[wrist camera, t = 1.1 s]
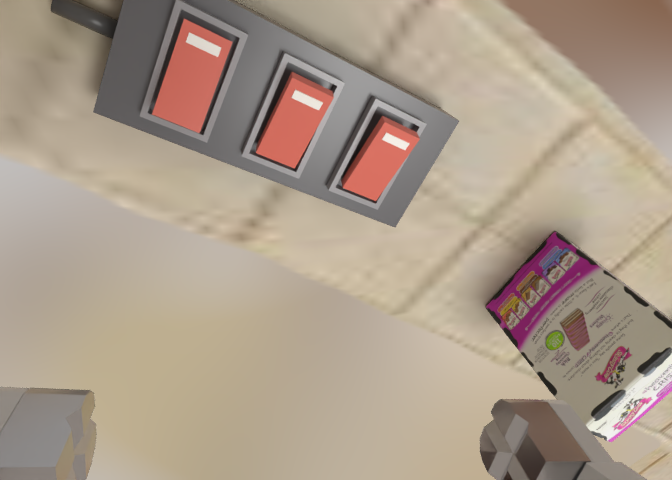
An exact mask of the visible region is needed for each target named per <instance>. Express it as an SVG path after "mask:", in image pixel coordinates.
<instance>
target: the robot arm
mask: <svg viewBox="0 0 672 480" xmlns="http://www.w3.org/2000/svg"><path fill="white" fill-rule="evenodd" d="M94 407H95V400H94V392H92V391H90V390H69V389H48V388H13V387H12V388H11V387H0V480H85V479H86V478H87V476H88V473H89V470H90V467H91V464H92V458H93V454H94V450H95V443H96V424H95V423H94V422H93V421H92V420H91V419H90V418H91V415H92V413H93V410H94ZM491 414H492V416H493V419H494V420H493V421H491V422H490V423H489V424H487V425H486V426H485V427H484V429H483V432H482V434H481V437H480V453H481V457H482V461H483V463H484V465H485V468H486V470H487V472H488V473H489V474H490V475H492V476H493V477H494V478H495V479H496V480H647V479H645V478H644V477H642V476H641V475H639V474H638V473H636V472H635V471H633V470H632V469H630V468H629V467H627V466H626V465H624V464H623V463H621V462H614V461H613V460H612V458H611V457H610V455H609V454H608V453H607V452H606V451H605V449H604V448H603V447H602V445H601V444H600V443H599V442H598V440H597V439H596V438H595V437H594V435H593V434H592V433H591V431H590V430H589V429H588V428H587V426H586V425H585V424H584V422H583V421H582V420H581V419H580V417H579V416H578V415H577V414H576V412H575V411H574V410H573V408H572V407H571V406H570V405H569V404H568V403H566V402H565V401H563V400H524V399H500V400H499V401H497V402H496V403H495V404H494V407H493V409H492V411H491Z"/></svg>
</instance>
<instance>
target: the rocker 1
mask: <svg viewBox="0 0 672 480" xmlns="http://www.w3.org/2000/svg"><path fill="white" fill-rule="evenodd" d="M231 45H232V42H231V41H229V40H227V39H225V38H223V37H221V36H219V35H217V34H215V33H213V32H211V31H209V30H207V29H205V28H203V27H201V26H199V25H197V24H194V23H192V22H190V21H188V20H186V19H184V21H183V23H182V26H181V29H180V32H179V35H178V38H177V41H176V44H175V47H174V50H173V53H172V56H171V59H170V62H169V65H168V68H167V71H166V74H165V77H164V80H163V83H162V86H161V89H160V92H159V95H158V98H157V101H156V104H155V107H154V110H153V113H152V115H155V116H157V117H160V118H162V119H165V120H167V121H170V122H172V123H175V124H177V125H180V126H182V127H185V128H187V129H190V130H192V131H195V132H197V133H200V131H201V128H202V125H203V123H204V120H205V117H206V114H207V112H208V109H209V106H210V103H211V100H212V98H213V95H214V92H215V89H216V87H217V84H218V81H219V78H220V76H221V73H222V70H223V67H224V64H225V62H226V59H227V56H228V53H229V51H230V48H231Z"/></svg>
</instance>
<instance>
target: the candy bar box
mask: <svg viewBox="0 0 672 480" xmlns="http://www.w3.org/2000/svg"><path fill="white" fill-rule="evenodd" d="M486 309H487V310H488V311H489V313H490V314H491V316H492V317H493V318H494V319H495V321H496V322H497V323H498V324H499V326H500V327H501V328H502V330H503V331H504V332H505V333H506V335H507V336H508V337H509V339H510V340H511V341H512V343H513V344H514V345H515V346H516V347H517V349H518V350H519V352H520V353H521V354H522V355H523V356H524V358H525V359H526V360H527V362H528V363H529V364H530V365H531V367H532V368H533V370H534V371H535V372H536V373H537V375H538V376H539V377H540V379H541V380H542V381H543V382H544V384H545V385H546V386H547V388H548V389H549V391H550V392H551V393H552V394H553V395H554V396H555V398H556V399H557V400H563V401H565V402H566V403H568V404H569V405H570V406H571V407H572V408H573V410H574V411H575V412H576V414H577V415H578V416H579V417H580V419H581V420H582V421H583V422H584V424H585V425H586V426H587V428H588V429H589V430H590V431H591V433H592V434H593V435H595V436H598V437H600V438H604V439H605V440H606V441H609V442H613V441H614V440H615V439H616V438H617V437H618V436H620V434H622V433H623V432H624V431H625V430H627V429H628V428H629V427H630V426H631V425H633V424H634V423H635V422H636V421H637V420H639V419H640V418H641V417H642V416H643V415H644V414H646V413H647V412H648V411H649V410H650V409H651V408H653V407H654V406H655V405H656V404H657V403H658V402H660V401H661V400H662V399H663V398H664V397H665V396H667V395H668V394H669V393H670V392H671V391H672V320H671V319H669V318H668V317H667V316H666V315H664V314H663V313H662V312H661V311H659V310H658V309H657V308H655V307H654V306H653V305H652V304H650V303H649V302H648V301H646V300H645V299H644V298H643V297H641V296H640V295H639V294H638V293H636V292H635V291H634V290H633V289H631V288H630V287H629V286H627V285H626V284H625V283H624V282H622V281H621V280H620V279H618V278H617V277H616V276H615V275H613V274H612V273H611V272H610V271H608V270H607V269H606V268H604V267H603V266H602V265H601V264H599V263H598V262H597V261H595V260H594V259H593V258H592V257H590V256H589V255H588V254H586V253H585V252H584V251H582V250H581V249H580V248H579V247H577V246H576V245H574V244H573V243H572V242H570V241H569V240H568V239H566V238H565V237H563V236H562V235H560V234H559V233H557V232H554V233H552V234H551V235H550V237H549V238H548V239H547V240H546V241H545V242H544V243H543V244H542V245H541V246H540V247H539V249H538V250H537V251H536V252H535V253H534V254H533V255H532V256H531V257H530V258H529V260H528V261H527V262H526V263H525V264H524V265H523V266H522V267H521V268H520V270H519V271H518V272H517V273H516V274H515V275H514V276H513V277H512V278H511V280H510V281H509V282H508V283H507V284H506V285H505V286H504V287H503V289H502V290H501V291H500V292H499V293H498V294H497V295H496V296H495V297H494V299H493V300H492V301H491V302H490V303H489V304H488V305H487V306H486Z"/></svg>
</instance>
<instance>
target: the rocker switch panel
mask: <svg viewBox="0 0 672 480" xmlns="http://www.w3.org/2000/svg"><path fill="white" fill-rule="evenodd" d="M51 11H52V12H53V13H55V14H57V15H60V16H62V17H64V18H66V19H69V20H71V21H73V22H75V23H78V24H80V25H82V26H84V27H87V28H89V29H91V30H93V31H96V32H98V33H100V34H102V35H105V36H107V37H109V38H111V39H113V41H112V45H111V49H110V52H109V56H108V60H107V63H106V67H105V71H104V74H103V78H102V82H101V85H100V89H99V93H98V96H97V100H96V104H95V108H94V111H93V112H94V113H97V114H99V115H102V116H105V117H107V118H110V119H112V120H115V121H118V122H120V123H123V124H126V125H128V126H131V127H133V128H136V129H139V130H141V131H144V132H146V133H149V134H152V135H154V136H157V137H160V138H162V139H165V140H167V141H170V142H173V143H175V144H178V145H180V146H183V147H186V148H188V149H191V150H194V151H196V152H199V153H201V154H204V155H207V156H209V157H212V158H215V159H217V160H220V161H222V162H225V163H228V164H230V165H233V166H235V167H238V168H241V169H243V170H246V171H249V172H251V173H254V174H256V175H259V176H262V177H264V178H267V179H269V180H272V181H275V182H277V183H280V184H283V185H285V186H288V187H290V188H293V189H296V190H298V191H301V192H303V193H306V194H309V195H311V196H314V197H317V198H319V199H322V200H324V201H327V202H330V203H332V204H335V205H338V206H340V207H343V208H345V209H348V210H351V211H353V212H356V213H358V214H361V215H364V216H366V217H369V218H372V219H374V220H377V221H379V222H382V223H385V224H387V225H390V226H392V227H396V225H397V224H398V222H399V220H400V219H401V217H402V215H403V214H404V212H405V210H406V209H407V207H408V205H409V204H410V202H411V200H412V199H413V197H414V195H415V194H416V192H417V190H418V189H419V187H420V185H421V184H422V182H423V180H424V179H425V177H426V175H427V174H428V172H429V171H430V169H431V167H432V166H433V164H434V162H435V161H436V159H437V157H438V156H439V154H440V152H441V151H442V149H443V147H444V146H445V144H446V142H447V141H448V139H449V137H450V136H451V134H452V132H453V131H454V129H455V127H456V126H457V124H458V122H459V120H457V119H456V118H454V117H453V116H451V115H450V114H448V113H447V112H445V111H444V110H442V109H441V108H439V107H437V106H435V105H433V104H431V103H429V102H427V101H425V100H423V99H421V98H419V97H418V96H416V95H414V94H412V93H410V92H408V91H406V90H404V89H402V88H400V87H398V86H397V85H395V84H393V83H391V82H389V81H387V80H385V79H383V78H381V77H379V76H377V75H376V74H374V73H372V72H370V71H368V70H366V69H364V68H362V67H360V66H358V65H356V64H355V63H353V62H351V61H349V60H347V59H345V58H343V57H341V56H339V55H337V54H335V53H334V52H332V51H330V50H328V49H326V48H324V47H322V46H320V45H318V44H316V43H314V42H312V41H311V40H309V39H307V38H305V37H303V36H301V35H299V34H297V33H295V32H293V31H291V30H290V29H288V28H286V27H284V26H282V25H280V24H278V23H276V22H274V21H272V20H270V19H269V18H267V17H265V16H263V15H261V14H259V13H257V12H255V11H253V10H251V9H249V8H248V7H246V6H244V5H242V4H240V3H238V2H236V1H234V0H124V1H123V4H122V8H121V12H120V15H119V19H118V21H117V20H115V19H112V18H110V17H108V16H106V15H104V14H102V13H99V12H97V11H95V10H93V9H91V8H89V7H86V6H84V5H82V4H80V3H78V2H76V1H73V0H52V4H51ZM184 19H186V20H188V21H190V22H192V23H194V24H197V25H199V26H201V27H203V28H205V29H207V30H209V31H211V32H213V33H215V34H217V35H219V36H221V37H223V38H225V39H227V40H229V41H231V42H232V45H231V48H230V51H229V53H228V56H227V59H226V62H225V64H224V67H223V70H222V73H221V76H220V78H219V81H218V84H217V87H216V89H215V92H214V95H213V98H212V100H211V103H210V106H209V109H208V112H207V114H206V117H205V120H204V123H203V125H202V128H201V131H200V133H197V132H195V131H192V130H190V129H187V128H185V127H182V126H180V125H177V124H175V123H172V122H170V121H167V120H165V119H162V118H160V117H157V116H155V115H152V113H153V110H154V107H155V104H156V101H157V98H158V95H159V92H160V89H161V86H162V83H163V80H164V77H165V74H166V71H167V68H168V65H169V62H170V59H171V56H172V53H173V50H174V47H175V44H176V41H177V38H178V35H179V32H180V29H181V26H182V23H183V21H184ZM291 72H294V73H296V74H298V75H300V76H302V77H304V78H306V79H308V80H310V81H312V82H314V83H316V84H319V85H321V86H323V87H325V88H327V89H329V90H331V91H333V96H334V98H333V100H332V102H331V104H330V106H329V107H328V109H327V111H326V113H325V115H324V116H323V118H322V120H321V122H320V124H319V126H318V127H317V129H316V131H315V133H314V135H313V136H312V138H311V140H310V142H309V144H308V145H307V147H306V149H305V151H304V153H303V155H302V156H301V158H300V160H299V162H298V164H297V165H296V167H295V169H294V168H292V167H289V166H287V165H284V164H282V163H279V162H277V161H274V160H272V159H269V158H267V157H265V156H262V155H260V154H257V153H256V146H257V144H258V141H259V139H260V137H261V135H262V133H263V131H264V129H265V127H266V125H267V123H268V120H269V118H270V116H271V114H272V112H273V110H274V108H275V106H276V104H277V102H278V100H279V97H280V95H281V93H282V91H283V89H284V87H285V85H286V83H287V81H288V79H289V76H290V74H291ZM382 116H384V117H386V118H388V119H390V120H392V121H395V122H397V123H399V124H401V125H403V126H405V127H407V128H409V129H411V130H413V131H415V132H417V134H418V136H419V138H420V140H419V141H418V143H417V144H416V145H415V147H414V148H413V150H412V151H411V152H410V154H409V155H408V157H407V158H406V159H405V161H404V162H403V164H402V165H401V167H400V168H399V169H398V171H397V172H396V174H395V175H394V176H393V178H392V179H391V181H390V182H389V183H388V185H387V186H386V188H385V189H384V190H383V192H382V193H381V195H380V196H379V197H378V199H377V200H376V201H374V200H372V199H369V198H367V197H364V196H362V195H359V194H357V193H354V192H352V191H349V190H347V189H344V188H343V187H342V182H341V180H342V178H343V177H344V175H345V174H346V172H347V171H348V169H349V167H350V166H351V164H352V163H353V161H354V160H355V158H356V156H357V155H358V153H359V152H360V150H361V148H362V147H363V145H364V144H365V142H366V141H367V139H368V137H369V136H370V134H371V133H372V131H373V130H374V128H375V126H376V125H377V123H378V122H379V120H380V119H381V117H382Z"/></svg>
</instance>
